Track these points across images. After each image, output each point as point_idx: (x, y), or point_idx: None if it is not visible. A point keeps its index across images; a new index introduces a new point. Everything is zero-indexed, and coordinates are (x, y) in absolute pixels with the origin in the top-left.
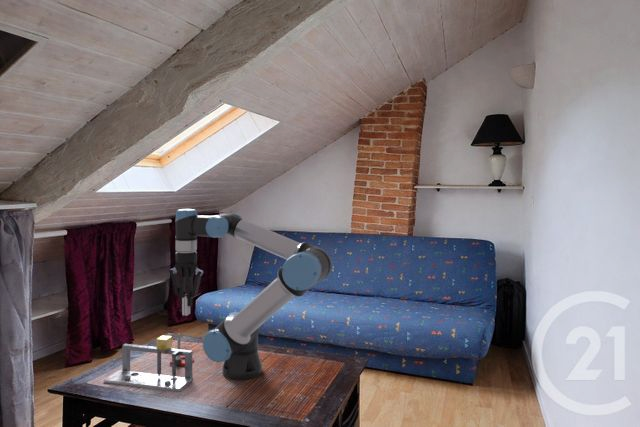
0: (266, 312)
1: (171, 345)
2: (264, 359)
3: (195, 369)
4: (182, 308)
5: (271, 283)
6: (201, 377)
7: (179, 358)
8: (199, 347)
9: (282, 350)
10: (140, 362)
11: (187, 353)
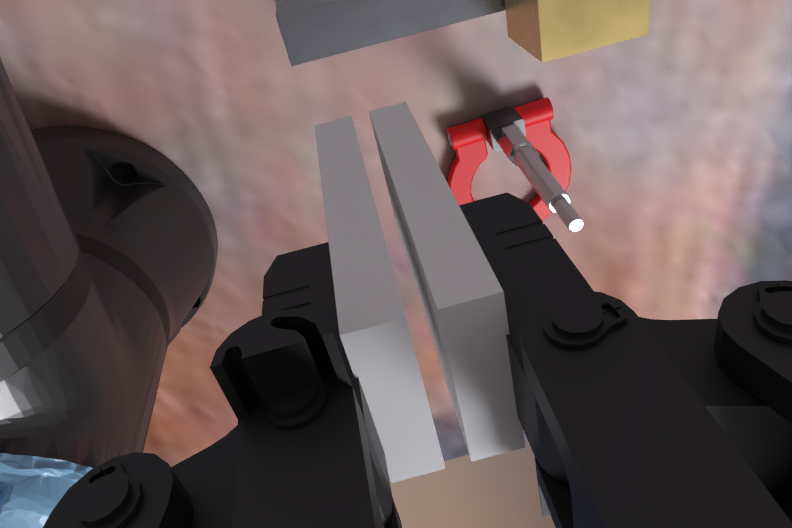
0: None
1: (512, 34)
2: None
3: (365, 127)
4: (423, 153)
5: None
6: (244, 51)
7: (500, 136)
8: None
9: None
10: (740, 40)
11: (299, 6)
